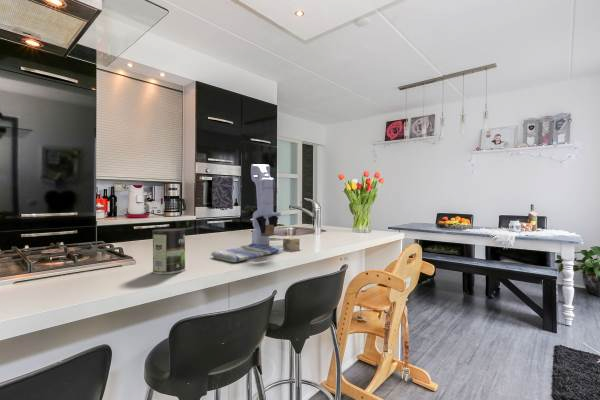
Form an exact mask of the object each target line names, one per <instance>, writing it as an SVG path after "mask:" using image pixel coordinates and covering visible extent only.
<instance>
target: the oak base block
mask: <svg viewBox="0 0 600 400" xmlns="http://www.w3.org/2000/svg"><path fill="white" fill-rule="evenodd" d="M300 241H301V240H300V237H293V236H292V237H283V238H282V245H283V249H286V250H290V251H289V252H292V251H291V250H295V251H298V250H297V249H301V247H300V245H301V244H300Z"/></svg>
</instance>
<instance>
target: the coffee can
mask: <svg viewBox="0 0 600 400" xmlns="http://www.w3.org/2000/svg"><path fill="white" fill-rule="evenodd" d="M151 232H152V274H154V275H172V274H173V275H174V274H179V273H182V272H184V271H186V228H179V227H177V228H176V227H174V228H157V229H153V230H151Z"/></svg>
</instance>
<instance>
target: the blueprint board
mask: <svg viewBox="0 0 600 400" xmlns="http://www.w3.org/2000/svg"><path fill="white" fill-rule="evenodd" d="M271 247H272V248H275V249H278V250H279V251H278V252H276V253H275V254H282V253H289V252H294V251H301V250H303V248H300V249H297V250H291V251H290V250H286V249H283V244H280V245H273V246H271Z"/></svg>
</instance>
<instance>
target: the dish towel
mask: <svg viewBox="0 0 600 400" xmlns="http://www.w3.org/2000/svg"><path fill="white" fill-rule="evenodd" d="M278 251H279V250H278V249H275V248H272V246H267V245H256V244H253V243H251V244H247V245H241V246H240V247H235V248H229V249H224V250H220V251H216V250H214V251H213V252H211V253H210V256H212V257H213V259H218V260H221V261H226V262H230V263H231V262H232V263H238V262H241V261H246V260H251V259H256V258H260V257H265V256H268V255H269V256H270V255H271V254H272V255H273V254H277V253H276V252H278Z"/></svg>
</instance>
